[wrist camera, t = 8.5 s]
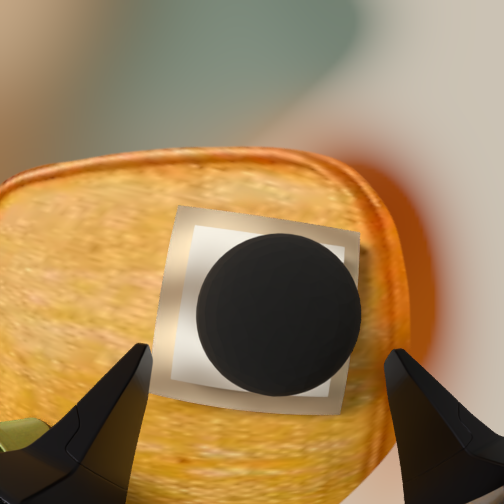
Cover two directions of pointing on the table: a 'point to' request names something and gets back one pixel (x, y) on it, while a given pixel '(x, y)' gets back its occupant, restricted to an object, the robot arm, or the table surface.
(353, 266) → the stepped stand
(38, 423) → the plant pot
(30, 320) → the table surface
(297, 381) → the light bulb
